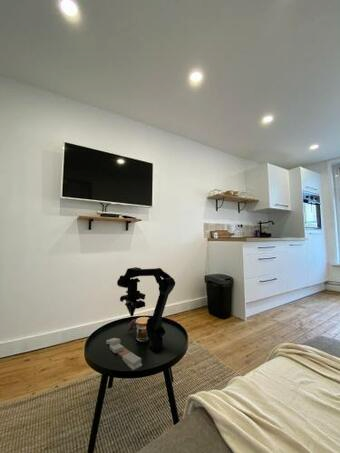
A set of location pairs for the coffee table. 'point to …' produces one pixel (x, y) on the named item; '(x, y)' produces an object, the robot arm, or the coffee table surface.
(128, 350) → the domino
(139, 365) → the domino
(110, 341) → the domino
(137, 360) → the domino
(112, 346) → the domino
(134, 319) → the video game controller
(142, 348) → the coffee table surface
